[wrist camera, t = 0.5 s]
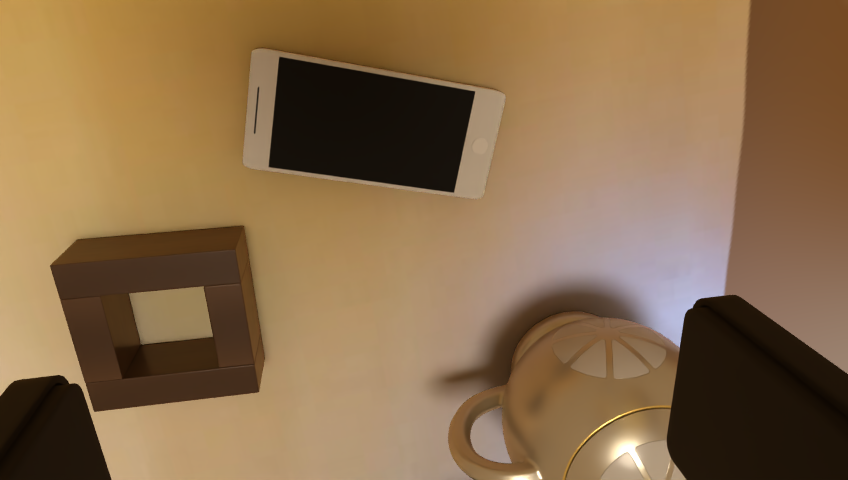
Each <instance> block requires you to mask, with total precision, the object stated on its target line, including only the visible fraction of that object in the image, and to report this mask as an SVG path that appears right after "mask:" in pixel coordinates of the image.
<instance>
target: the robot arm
mask: <svg viewBox="0 0 848 480" xmlns="http://www.w3.org/2000/svg"><path fill="white" fill-rule="evenodd" d="M667 448H668V452H669V455H670V457H671V459H672V461H673V462H674V464H675V465H676V466H677V468H678V469H679V470H680V472H681V473H682V474H683V476H684V477H685V478H686V480H848V374H847V373H845V372H844V371H842V370H841V369H840V368H838V367H837V366H836V365H834V364H833V363H831V362H830V361H829V360H827V359H826V358H824V357H823V356H822V355H820V354H819V353H818V352H816V351H815V350H813V349H812V348H810V347H809V346H808V345H806V344H805V343H804V342H802V341H801V340H799V339H798V338H797V337H795V336H794V335H792V334H791V333H790V332H788V331H787V330H785V329H784V328H783V327H781V326H780V325H778V324H777V323H776V322H774V321H773V320H771V319H770V318H768V317H767V316H766V315H764V314H763V313H762V312H760V311H759V310H758V309H756V308H755V307H753V306H752V305H751V304H749V303H748V302H746V301H745V300H744V299H742V298H741V297H739V296H737V295H726V296H718V297H710V298H701V299H699V300H697V301H696V303H695V304H694V306H693V308H692V309H689V310H688V311H687V312H686V314H685V318H684V324H683V330H682V337H681V344H680V351H679V357H678V364H677V371H676V378H675V384H674V391H673V398H672V404H671V411H670V418H669V425H668V431H667ZM0 480H111V477H110V474H109V471H108V468H107V465H106V462H105V458H104V455H103V452H102V449H101V446H100V443H99V440H98V437H97V434H96V431H95V428H94V425H93V421H92V418H91V415H90V412H89V409H88V406H87V403H86V400H85V397H84V394H83V391H82V389H81V387H80V386H79V385H78V384H75V383H74V384H69V383H68V381H67V380H66V378H65V377H63V376H61V375H56V376H47V377H39V378H31V379H22V380H17V381H14V382H13V383H11V384H10V385H9V386H8V387H7V389H6V390H5V391H4V392H3V394H2V395H1V396H0Z"/></svg>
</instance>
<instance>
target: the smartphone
mask: <svg viewBox="0 0 848 480" xmlns="http://www.w3.org/2000/svg"><path fill="white" fill-rule="evenodd" d="M505 99H506V96H505V94H504V93H502V92H500V91H498V90H495V89H490V88H485V87H479V86H473V85H468V84H462V83H457V82H451V81H446V80H440V79H434V78H429V77H423V76H418V75H412V74H407V73H401V72H395V71H390V70H384V69H379V68H373V67H368V66H362V65H356V64H351V63H345V62H340V61H334V60H329V59H323V58H318V57H312V56H306V55H301V54H295V53H290V52H284V51H279V50H273V49H267V48H256V49H254V50H253V51H252V53H251V64H250V77H249V89H248V101H247V114H246V126H245V138H244V151H243V165H244V166H246V167H248V168H251V169H256V170H264V171H271V172H278V173H286V174H293V175H300V176H307V177H315V178H322V179H329V180H337V181H344V182H351V183H359V184H366V185H373V186H381V187H388V188H395V189H403V190H410V191H417V192H424V193H432V194H439V195H446V196H454V197H461V198H468V199H480V198H482V197H483V195H484V191H485V186H486V182H487V178H488V173H489V169H490V165H491V160H492V156H493V152H494V147H495V143H496V139H497V134H498V130H499V126H500V121H501V117H502V113H503V108H504V104H505Z"/></svg>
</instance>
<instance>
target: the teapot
mask: <svg viewBox="0 0 848 480" xmlns="http://www.w3.org/2000/svg"><path fill="white" fill-rule="evenodd" d="M679 351H680V348H679V347H678V346H677V345H676V344H674V343H673V342H672V341H671V340H669V339H668V338H666V337H665V336H663V335H662V334H660V333H658V332H656V331H654V330H652V329H650V328H648V327H646V326H643V325H641V324H638V323H635V322H631V321H628V320H623V319H617V318H606V317H598V316H596V315H593V314H590V313H586V312H579V311H570V312H563V313H559V314H555V315H552V316H550V317H548V318H546V319H544V320H542V321H540V322H539V323H537V324H536V325H534V326H533V327H532V328H531V329H530V330H529V331H528V332H527V333H526V334H525V335H524V336H523V337H522V339H521V340H520V342H519V343H518V345H517V347H516V349H515V352H514V355H513V358H512V363H511V376H510V378H509V381H508V383H507V384H505V385H501V386H498V387H494V388H491V389H488V390H485V391H482V392H480V393H478V394H476V395H474V396H472V397H471V398H469V399H468V400H467V401H465V402H464V403H463V404H462V405H461V407H460V408H459V409H458V411H457V412H456V414H455V415H454V417H453V419H452V421H451V424H450V427H449V433H448V443H449V448H450V452H451V454H452V457H453V459H454V461H455V462H456V464H457V465H458V466H459V467H460V469H461V470H462V471H464V472H465V473H466V474H467V475H468V476H469V477H471V478H472V479H474V480H686V478H685V477H684V476H683V474H682V473H681V472H680V470H679V469H678V468H677V466H676V465H675V464H674V462H673V461H672V459H671V457H670V455H669V452H668V448H667V431H668V425H669V418H670V411H671V404H672V398H673V391H674V384H675V378H676V371H677V364H678V357H679ZM501 407H502V426H503V435H504V440H505V444H506V448H507V451H508V454H509V457H510V459H511V462H512V464H508V463H498V462H494V461H490V460H487V459H485V458H483V457H481V456H480V455H478V454H477V453H476V452H475V450H474V448H473V446H472V444H471V439H470V433H471V428H472V425H473V423H474V422H475V421H476V420H477V419H478V418H479V417H480V416H482V415H483V414H485V413H487V412H489V411H492V410H494V409H497V408H501Z"/></svg>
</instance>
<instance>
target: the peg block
mask: <svg viewBox="0 0 848 480" xmlns="http://www.w3.org/2000/svg"><path fill="white" fill-rule="evenodd" d="M248 257H249V255H248V249H247V243H246V236H245V230H244V226H238V227H226V228H214V229H202V230H190V231H177V232H165V233H153V234H141V235H129V236H116V237H104V238H92V239H80V240H76V241H75V242H74V243H73V244H72V245H71V246H70V247H69V248H68V249H67V250H66V251H65V252H64V253H63V254H62V255H61V256H60V257H59V258H58V259H56V260H55V261H54V262H53V263H52V264H51V265H50V267H51V271H52V274H53V277H54V281H55V284H56V287H57V291H58V294H59V297H60V300H61V304H62V307H63V311H64V314H65V317H66V321H67V324H68V327H69V331H70V334H71V337H72V341H73V344H74V347H75V351H76V354H77V357H78V361H79V364H80V367H81V371H82V374H83V377H84V381H85V383H86V386H87V390H88V393H89V396H90V400H91V403H92V406H93V410H94V412H97V411H105V410H114V409H122V408H130V407H139V406H147V405H156V404H164V403H173V402H181V401H189V400H198V399H206V398H215V397H223V396H232V395H240V394H248V393H257V392H259V389H260V383H261V378H262V372H263V366H264V360H265V357H264V351H263V344H262V338H261V333H260V325H259V319H258V313H257V306H256V300H255V294H254V287H253V281H252V275H251V268H250V262H249V258H248ZM200 286H204V292H205V297H206V302H207V307H208V312H209V317H210V322H211V328H212V333H213V338H207V339H197V340H188V341H178V342H169V343H159V344H150V345H141V344H140V340H139V336H138V332H137V328H136V324H135V320H134V316H133V312H132V308H131V304H130V300H129V296H128V293H136V292H147V291H157V290H168V289H179V288H189V287H200Z"/></svg>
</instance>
